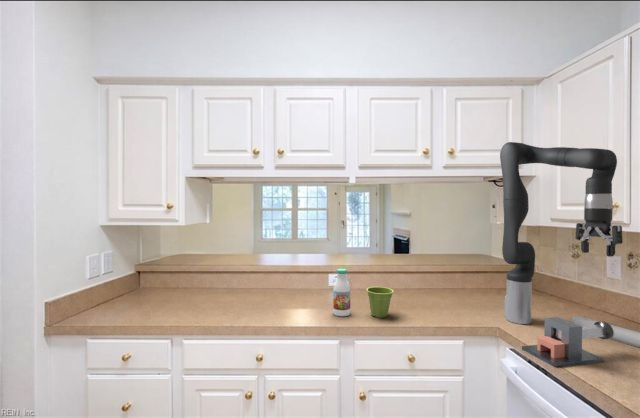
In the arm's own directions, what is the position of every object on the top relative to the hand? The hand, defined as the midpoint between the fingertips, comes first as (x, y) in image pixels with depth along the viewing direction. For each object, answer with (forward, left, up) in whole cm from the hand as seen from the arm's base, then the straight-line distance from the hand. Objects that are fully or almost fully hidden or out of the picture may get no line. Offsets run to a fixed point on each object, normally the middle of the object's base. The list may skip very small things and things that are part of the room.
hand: (597, 254), depth 117 cm
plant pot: (-46, -61, -32) cm, 83 cm away
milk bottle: (-51, -77, -32) cm, 98 cm away
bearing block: (+3, -17, -32) cm, 36 cm away
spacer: (+3, -22, -29) cm, 36 cm away
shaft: (+3, -9, -28) cm, 29 cm away
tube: (-7, +13, -32) cm, 36 cm away
